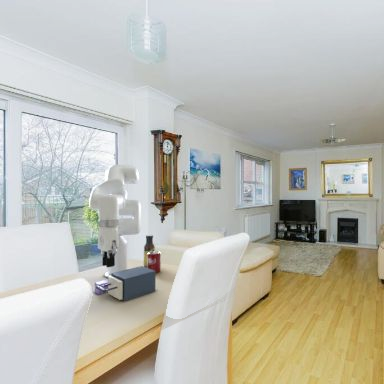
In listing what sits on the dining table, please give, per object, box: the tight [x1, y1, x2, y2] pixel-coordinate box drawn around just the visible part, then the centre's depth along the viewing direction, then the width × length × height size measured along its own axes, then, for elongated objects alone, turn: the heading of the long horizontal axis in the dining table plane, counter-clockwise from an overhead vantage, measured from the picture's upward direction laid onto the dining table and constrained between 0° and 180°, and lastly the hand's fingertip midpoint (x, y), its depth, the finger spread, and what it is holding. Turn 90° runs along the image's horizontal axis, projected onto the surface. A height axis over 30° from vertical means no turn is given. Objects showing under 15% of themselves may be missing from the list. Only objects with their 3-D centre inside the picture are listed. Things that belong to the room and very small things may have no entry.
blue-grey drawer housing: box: [111, 265, 156, 302], centre depth 122 cm, size 15×13×10 cm
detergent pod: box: [94, 279, 108, 295], centre depth 122 cm, size 4×4×4 cm
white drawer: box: [96, 276, 124, 301], centre depth 117 cm, size 19×11×8 cm, turn 142°
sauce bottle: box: [143, 234, 156, 268], centre depth 160 cm, size 6×6×20 cm
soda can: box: [147, 250, 162, 276], centre depth 149 cm, size 7×7×12 cm
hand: (108, 265), depth 113 cm, fingers open, 3 cm apart
